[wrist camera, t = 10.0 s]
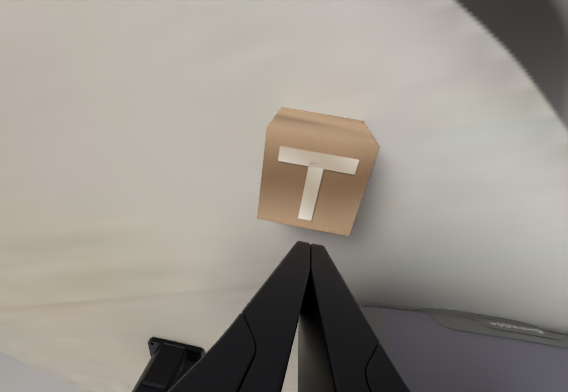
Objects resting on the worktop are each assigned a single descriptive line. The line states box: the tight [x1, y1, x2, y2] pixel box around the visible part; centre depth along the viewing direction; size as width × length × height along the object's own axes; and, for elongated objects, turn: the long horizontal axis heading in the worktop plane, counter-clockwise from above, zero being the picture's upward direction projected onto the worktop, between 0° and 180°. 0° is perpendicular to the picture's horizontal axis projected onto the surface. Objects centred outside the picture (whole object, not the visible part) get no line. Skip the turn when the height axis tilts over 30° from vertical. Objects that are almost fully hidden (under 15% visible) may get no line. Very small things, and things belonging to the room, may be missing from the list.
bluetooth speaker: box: [360, 307, 568, 392], centre depth 18 cm, size 23×9×10 cm, turn 85°
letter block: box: [257, 107, 380, 236], centre depth 15 cm, size 5×5×5 cm
